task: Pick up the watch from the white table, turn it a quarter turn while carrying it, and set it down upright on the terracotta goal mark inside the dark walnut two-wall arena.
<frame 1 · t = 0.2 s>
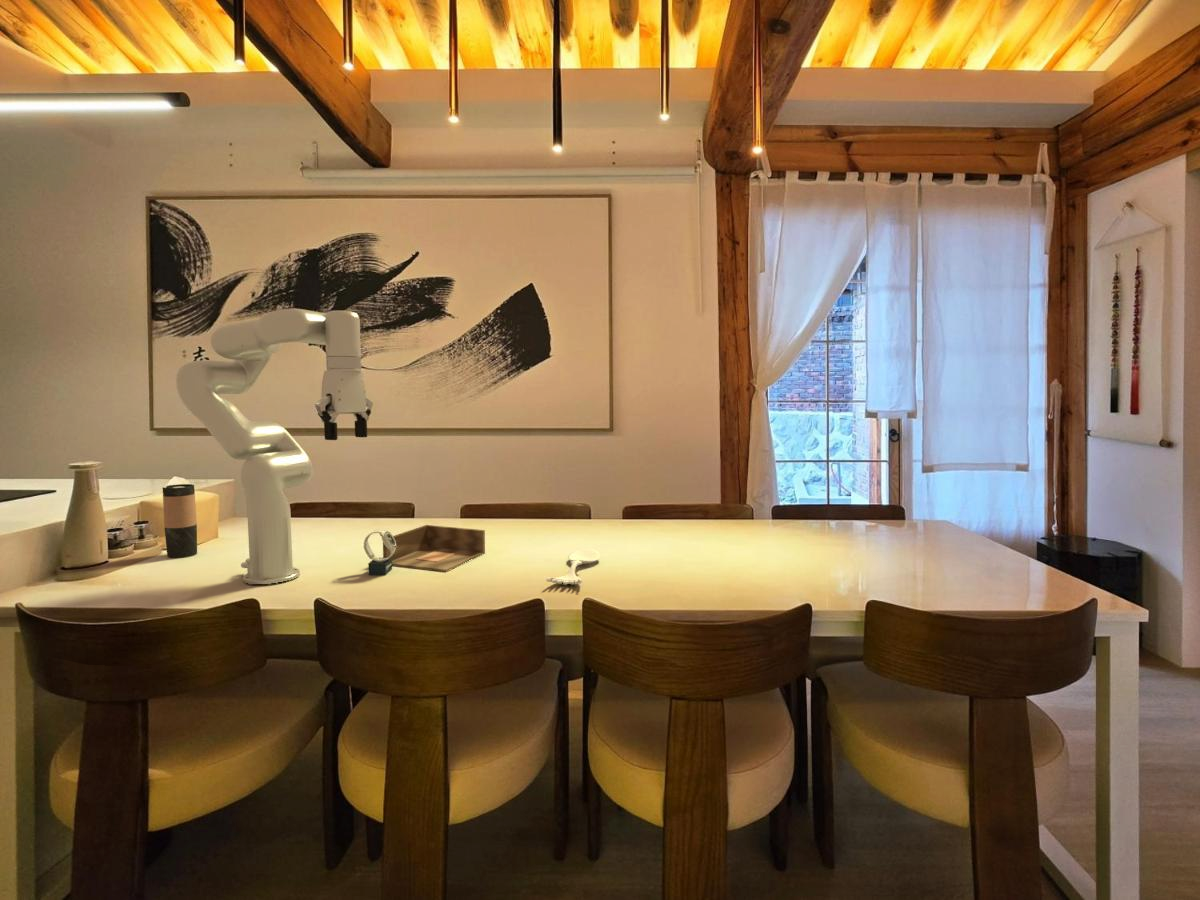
hand: (346, 438, 146), 36 cm above the table, tool pointing down, fingers open, 9 cm apart
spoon: (576, 573, 163), on the table
watch: (381, 572, 162), on the table
travel mug: (182, 555, 178), on the table
arena: (435, 558, 175), on the table
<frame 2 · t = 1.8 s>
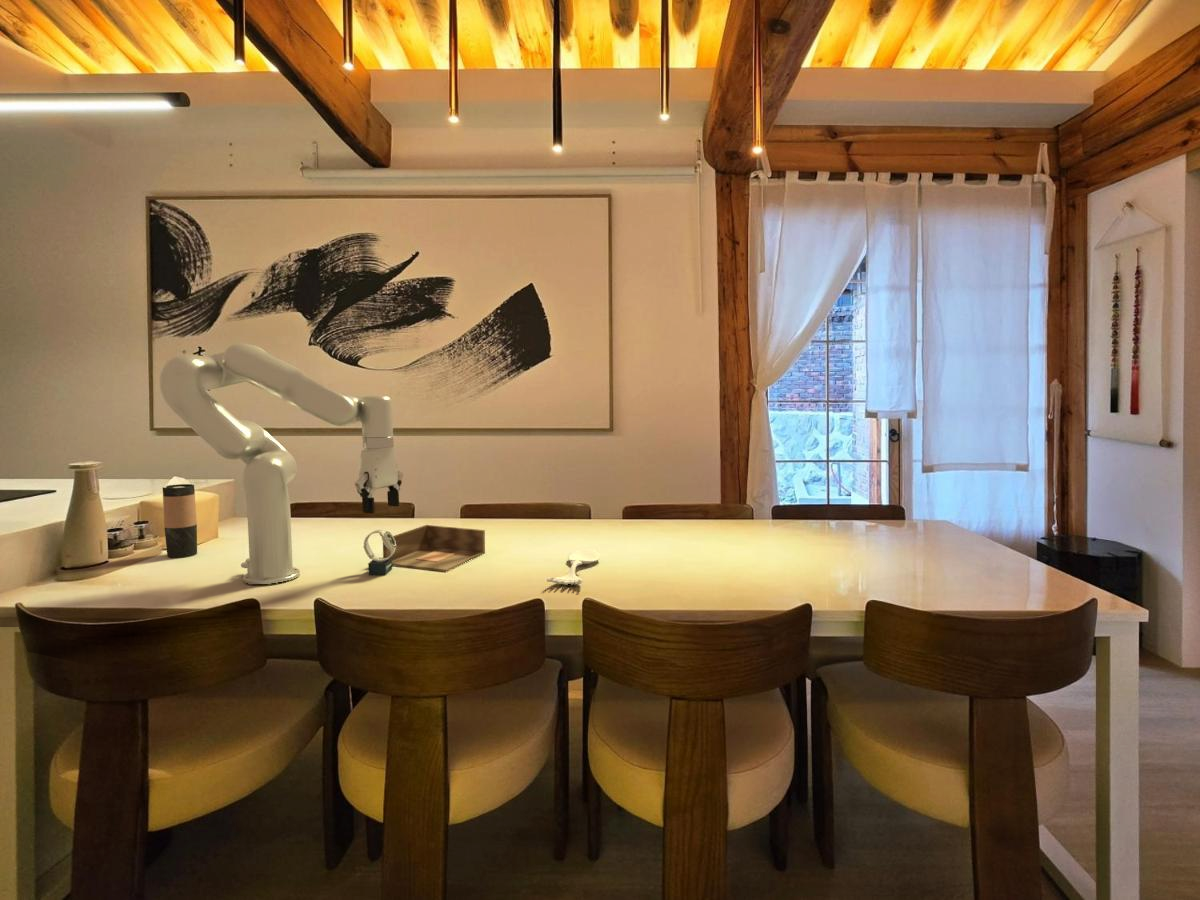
hand: (381, 509, 161), 17 cm above the table, tool pointing down, fingers open, 9 cm apart
nothing on the table moved.
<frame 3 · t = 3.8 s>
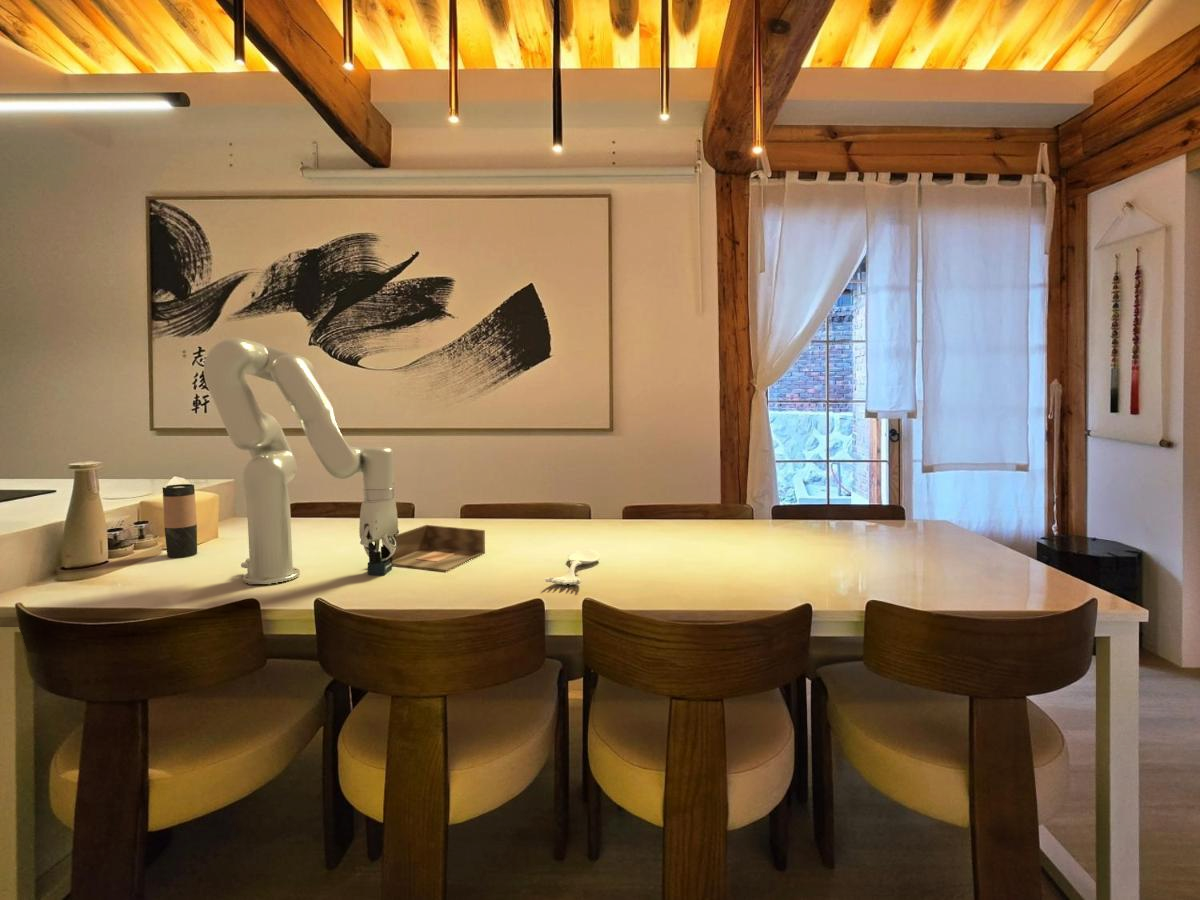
hand: (381, 563, 162), 2 cm above the table, tool pointing down, fingers closed on watch, 3 cm apart
watch: (380, 572, 162), on the table, touching gripper
everything else where it was.
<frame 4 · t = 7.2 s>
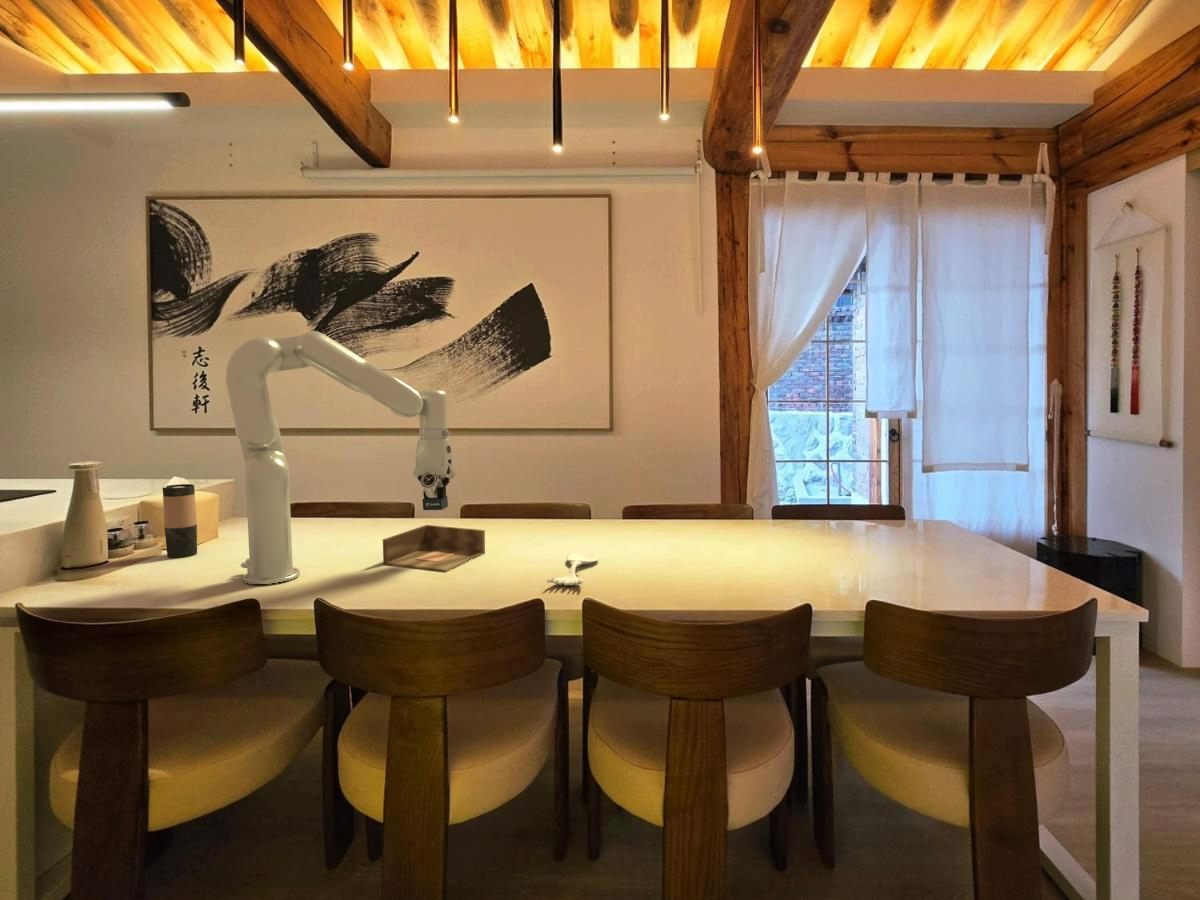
hand: (434, 499, 174), 17 cm above the table, tool pointing down, fingers closed on watch, 3 cm apart
watch: (435, 509, 174), point 14 cm above the table, touching gripper
everything else where it was.
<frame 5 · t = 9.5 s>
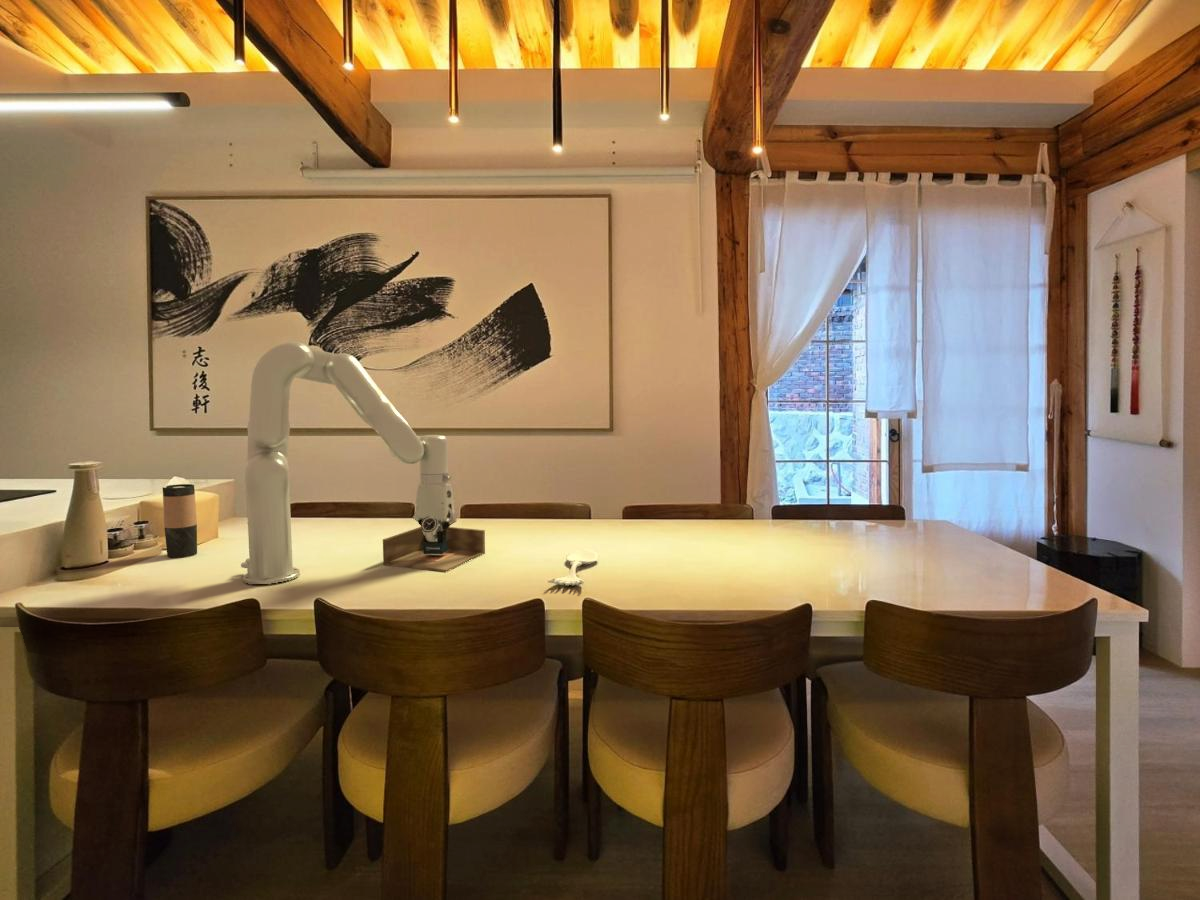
hand: (434, 543, 175), 5 cm above the table, tool pointing down, fingers closed on watch, 3 cm apart
watch: (436, 552, 175), point 2 cm above the table, touching gripper
everything else where it was.
when the fingers open (5 cm above the table, at t = 10.0 s): watch drops 1 cm, resting on arena.
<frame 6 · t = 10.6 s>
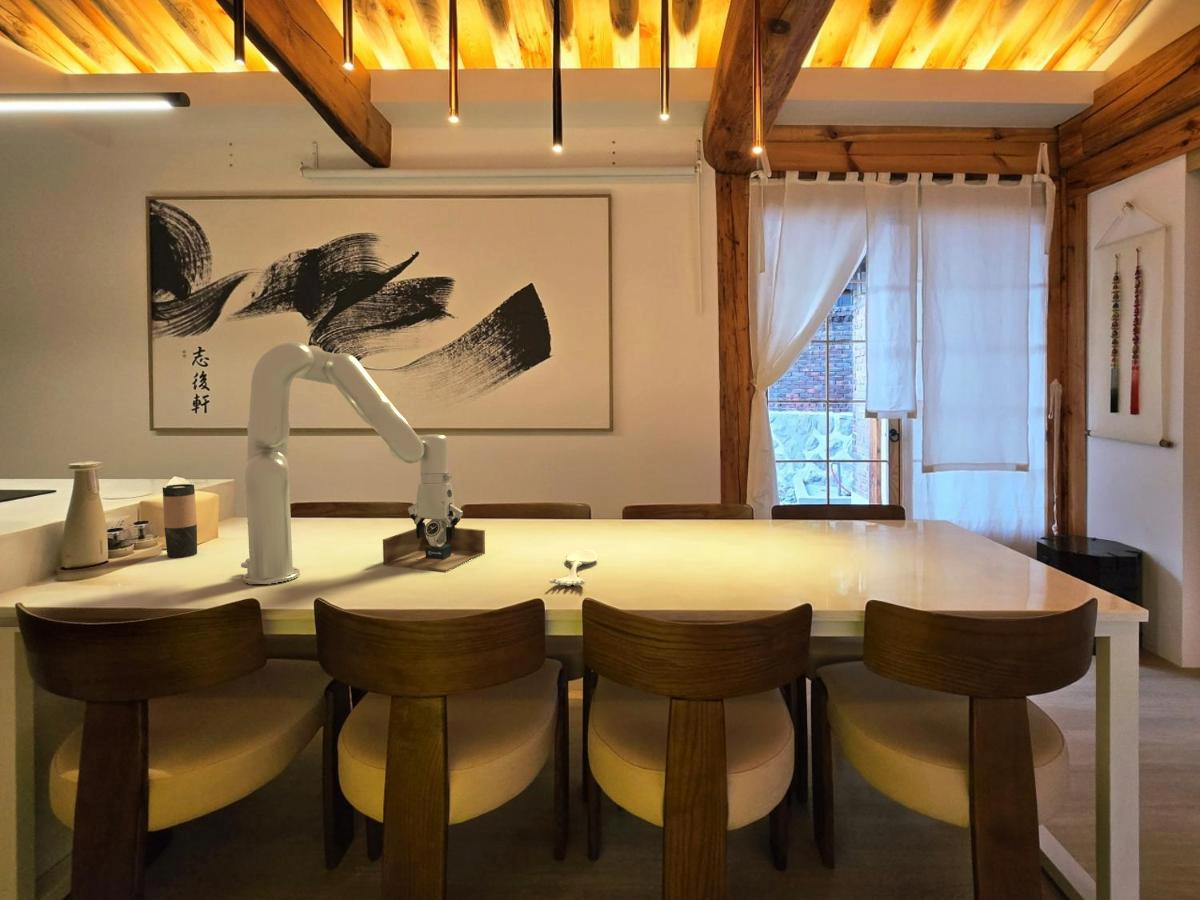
hand: (435, 538, 175), 6 cm above the table, tool pointing down, fingers open, 9 cm apart
watch: (438, 557, 174), point 1 cm above the table, touching arena
everything else where it was.
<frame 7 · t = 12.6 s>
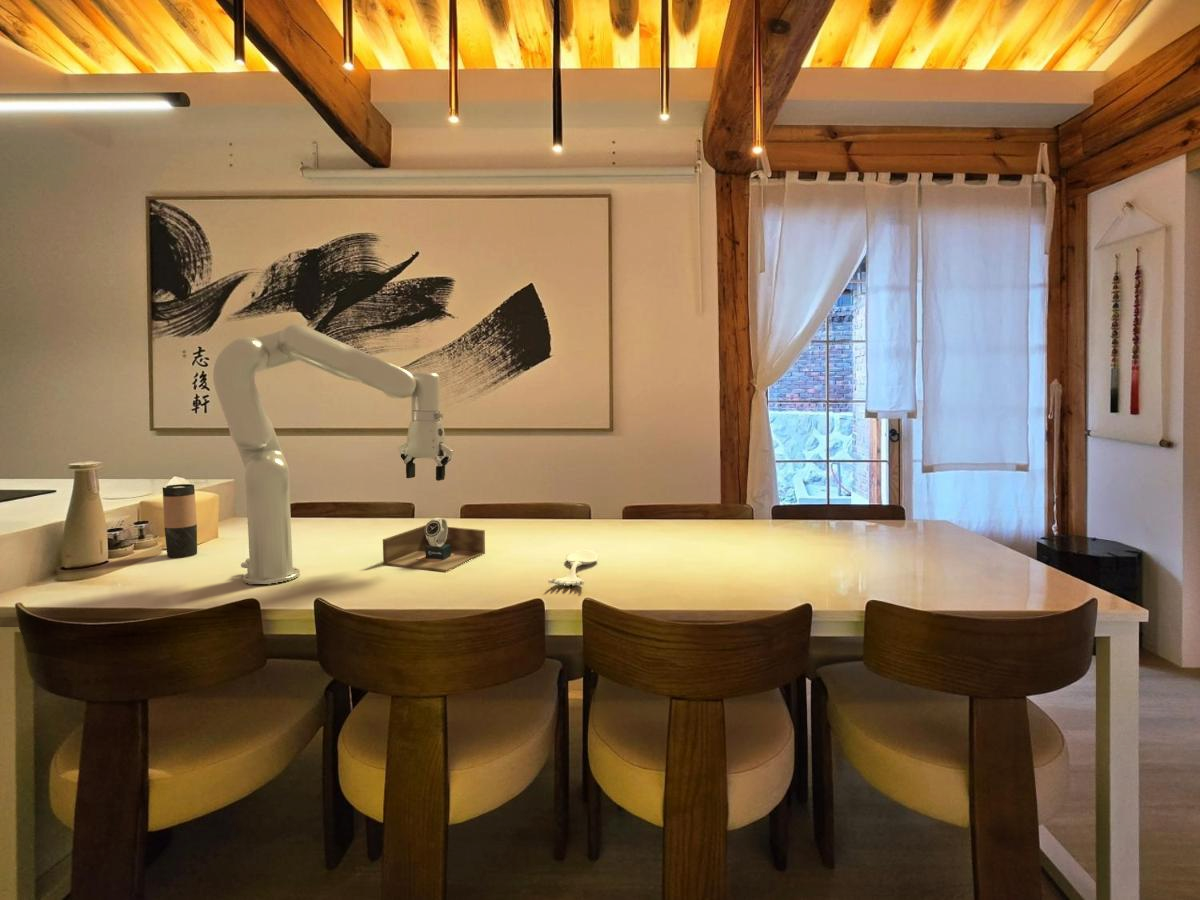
hand: (425, 478, 172), 23 cm above the table, tool pointing down, fingers open, 9 cm apart
nothing on the table moved.
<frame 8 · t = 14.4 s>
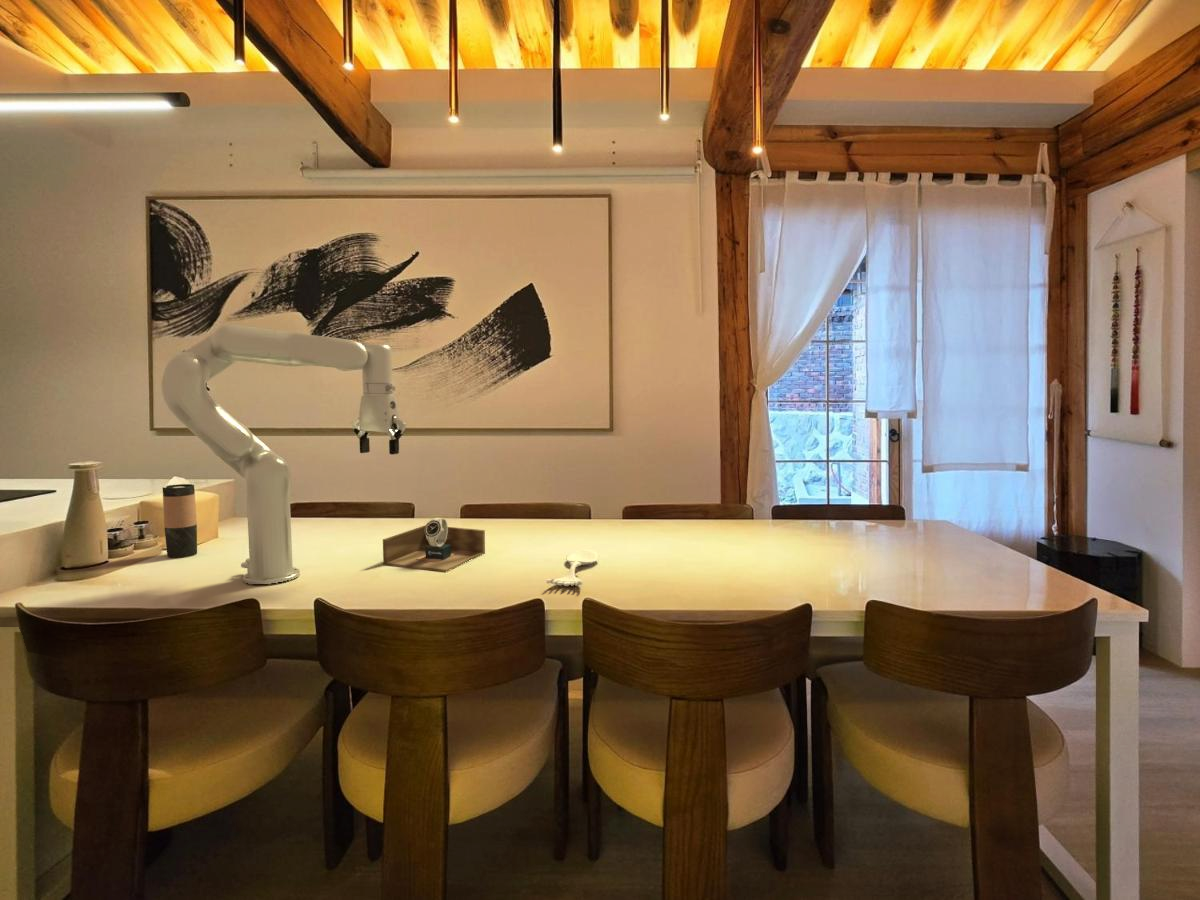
hand: (379, 453, 169), 30 cm above the table, tool pointing down, fingers open, 9 cm apart
at the end: watch inside the target area on the arena (1.3 cm from its centre), point 0.6 cm above the arena's base; watch tilted 0°; the gripper is holding nothing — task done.
